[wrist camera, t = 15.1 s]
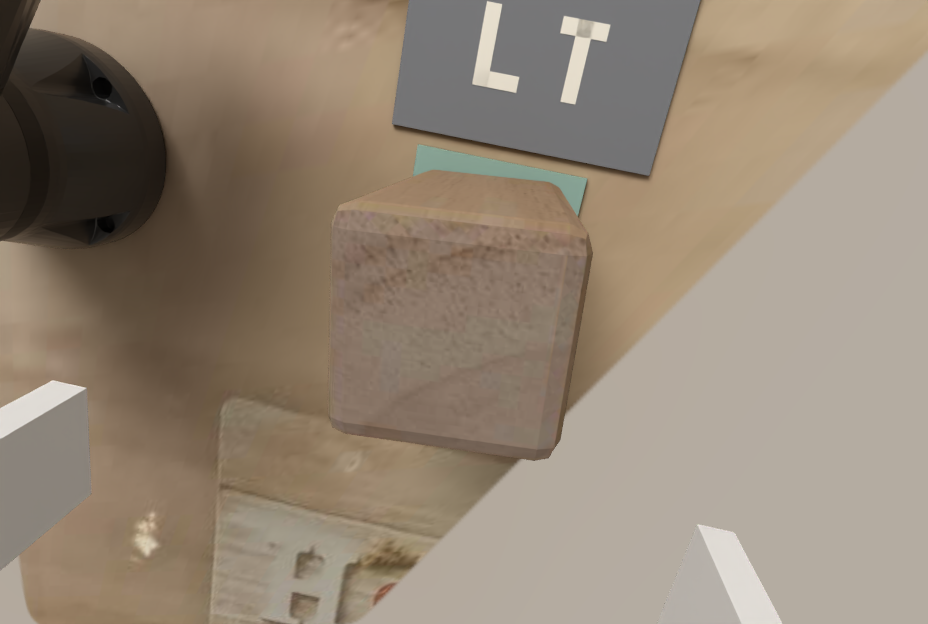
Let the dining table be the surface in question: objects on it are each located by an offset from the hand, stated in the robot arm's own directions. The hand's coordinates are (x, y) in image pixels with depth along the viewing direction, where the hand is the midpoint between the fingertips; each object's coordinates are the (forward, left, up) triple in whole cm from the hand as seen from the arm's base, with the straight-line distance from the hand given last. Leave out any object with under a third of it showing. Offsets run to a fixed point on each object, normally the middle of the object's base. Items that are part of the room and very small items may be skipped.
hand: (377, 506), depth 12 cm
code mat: (+1, +13, -30) cm, 33 cm away
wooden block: (0, 0, -30) cm, 30 cm away
